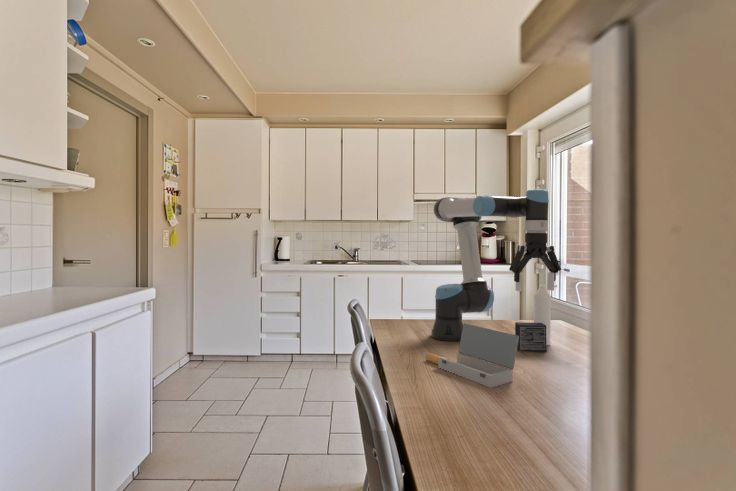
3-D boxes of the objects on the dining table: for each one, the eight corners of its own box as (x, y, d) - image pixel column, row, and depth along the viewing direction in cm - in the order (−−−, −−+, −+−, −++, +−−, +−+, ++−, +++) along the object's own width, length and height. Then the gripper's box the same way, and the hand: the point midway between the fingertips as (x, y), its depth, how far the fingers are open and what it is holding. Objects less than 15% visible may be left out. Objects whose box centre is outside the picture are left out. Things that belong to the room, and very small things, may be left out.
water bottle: (534, 345, 166) (535, 284, 166) (532, 341, 172) (533, 283, 172) (557, 346, 164) (558, 285, 163) (555, 343, 170) (556, 284, 169)
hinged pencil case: (437, 367, 135) (437, 357, 135) (459, 362, 141) (459, 352, 141) (490, 388, 117) (490, 376, 117) (512, 381, 123) (512, 369, 123)
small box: (541, 348, 162) (541, 322, 162) (547, 352, 155) (547, 325, 155) (514, 347, 163) (514, 321, 163) (518, 351, 156) (519, 324, 156)
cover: (463, 323, 142) (465, 323, 143) (458, 352, 141) (460, 352, 141) (517, 335, 124) (519, 336, 124) (511, 369, 122) (513, 369, 123)
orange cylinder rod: (428, 362, 144) (424, 357, 143) (433, 356, 145) (429, 350, 144) (448, 370, 135) (444, 364, 134) (453, 363, 137) (449, 357, 136)
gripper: (512, 231, 139) (511, 292, 139) (572, 232, 145) (570, 291, 146) (500, 231, 146) (498, 290, 147) (557, 232, 153) (556, 288, 153)
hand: (534, 290), depth 146 cm, fingers open, 13 cm apart
